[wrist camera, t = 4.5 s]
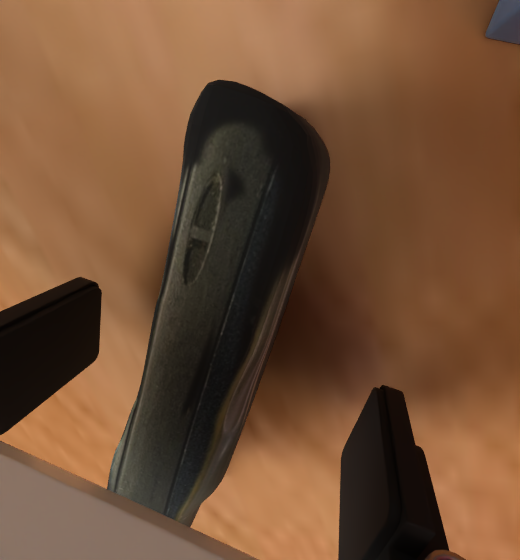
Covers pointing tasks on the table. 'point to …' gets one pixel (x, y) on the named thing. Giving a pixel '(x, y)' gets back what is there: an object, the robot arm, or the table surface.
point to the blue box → (505, 22)
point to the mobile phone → (219, 293)
